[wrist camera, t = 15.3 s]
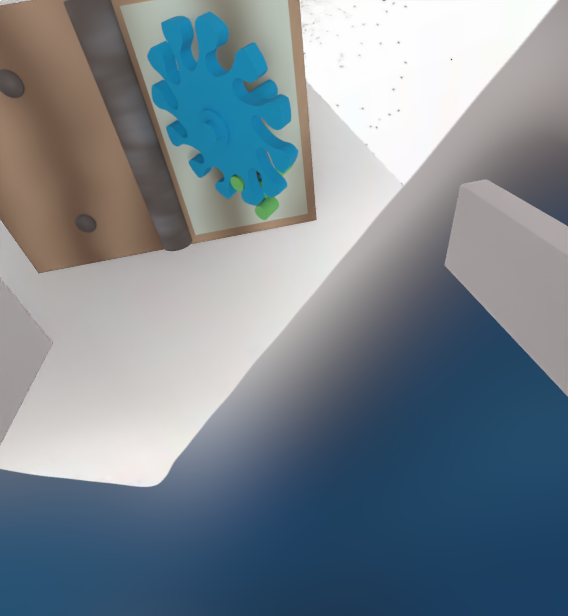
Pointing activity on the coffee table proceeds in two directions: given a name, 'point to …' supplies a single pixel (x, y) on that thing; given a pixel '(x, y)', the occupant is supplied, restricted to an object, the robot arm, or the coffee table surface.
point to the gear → (223, 111)
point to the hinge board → (128, 129)
